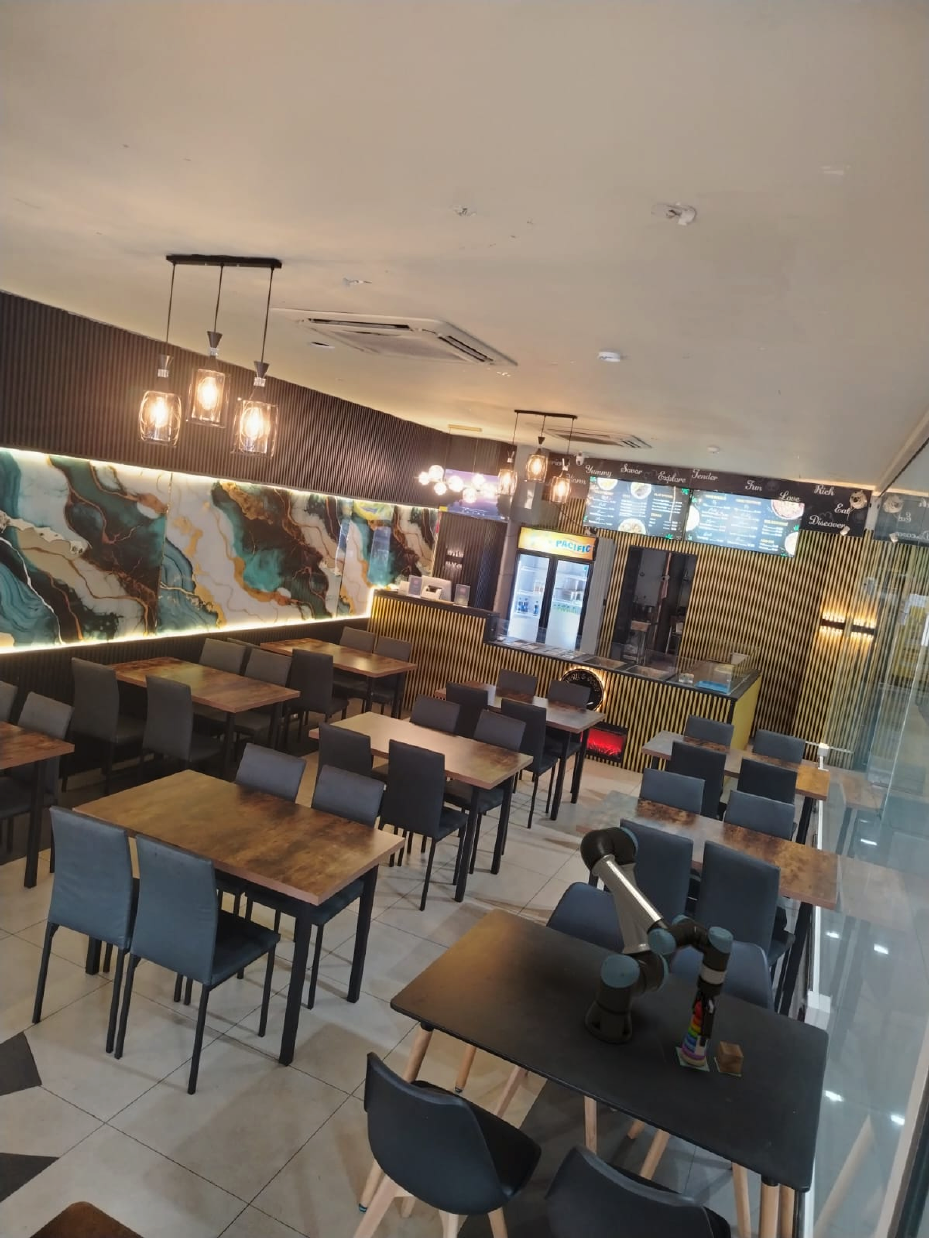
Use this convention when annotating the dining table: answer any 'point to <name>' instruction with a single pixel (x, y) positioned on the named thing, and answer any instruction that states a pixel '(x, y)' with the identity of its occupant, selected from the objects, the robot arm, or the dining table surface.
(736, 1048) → the walnut cube
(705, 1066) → the paired pale square pads
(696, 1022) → the stacking toy
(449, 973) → the dining table surface
